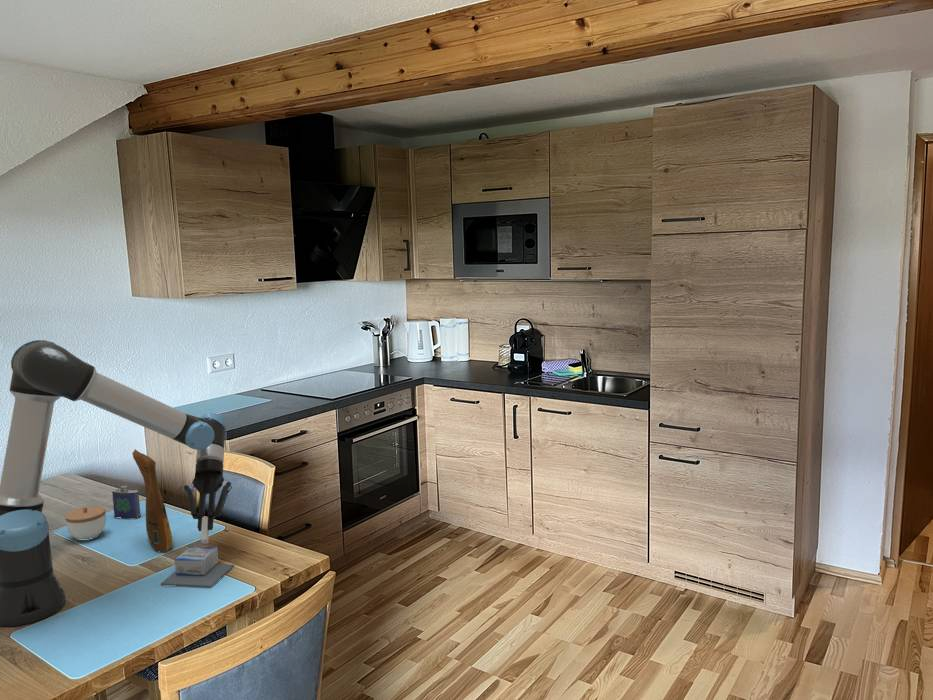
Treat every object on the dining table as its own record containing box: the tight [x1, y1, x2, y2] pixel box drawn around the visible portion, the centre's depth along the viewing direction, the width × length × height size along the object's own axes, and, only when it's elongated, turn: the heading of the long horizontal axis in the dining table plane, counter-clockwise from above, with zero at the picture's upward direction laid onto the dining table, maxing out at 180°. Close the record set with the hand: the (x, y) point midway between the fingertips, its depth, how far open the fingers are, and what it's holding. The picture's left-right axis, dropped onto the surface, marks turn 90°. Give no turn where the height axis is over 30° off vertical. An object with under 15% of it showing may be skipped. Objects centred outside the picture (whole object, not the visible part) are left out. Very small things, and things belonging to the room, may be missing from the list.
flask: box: [111, 484, 142, 519], centre depth 226 cm, size 9×3×11 cm, turn 79°
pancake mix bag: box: [132, 448, 173, 553], centre depth 203 cm, size 7×19×28 cm, turn 34°
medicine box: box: [174, 545, 219, 576], centre depth 186 cm, size 8×4×9 cm
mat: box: [160, 563, 235, 588], centre depth 183 cm, size 12×14×1 cm
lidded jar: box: [64, 506, 107, 540], centre depth 211 cm, size 11×11×9 cm
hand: (204, 541), depth 187 cm, fingers closed
